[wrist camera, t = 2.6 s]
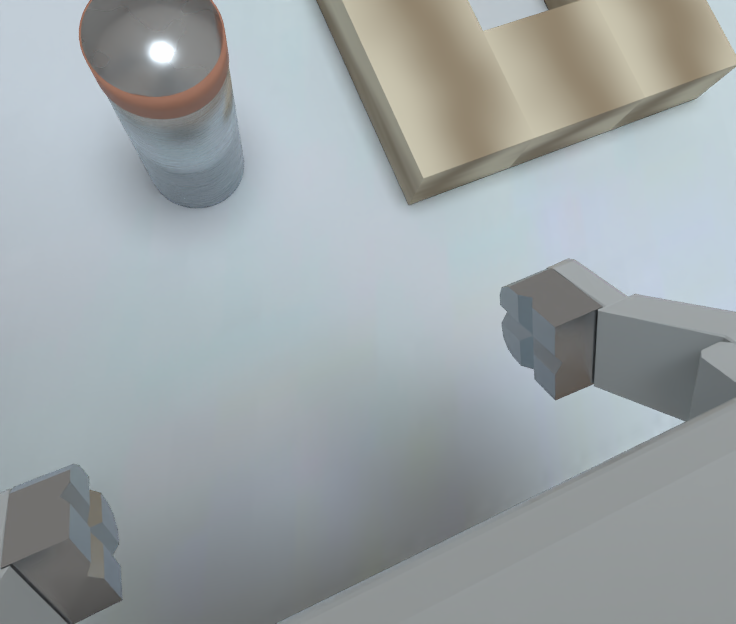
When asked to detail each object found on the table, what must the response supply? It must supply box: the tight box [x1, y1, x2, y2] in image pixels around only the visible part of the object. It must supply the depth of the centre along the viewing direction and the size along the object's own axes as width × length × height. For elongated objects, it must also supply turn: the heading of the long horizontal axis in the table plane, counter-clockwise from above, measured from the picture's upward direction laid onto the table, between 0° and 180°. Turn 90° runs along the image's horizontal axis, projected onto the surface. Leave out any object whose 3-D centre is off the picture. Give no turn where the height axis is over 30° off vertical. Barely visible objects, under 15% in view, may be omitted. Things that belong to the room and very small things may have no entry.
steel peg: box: [79, 0, 244, 208], centre depth 22 cm, size 4×4×9 cm
